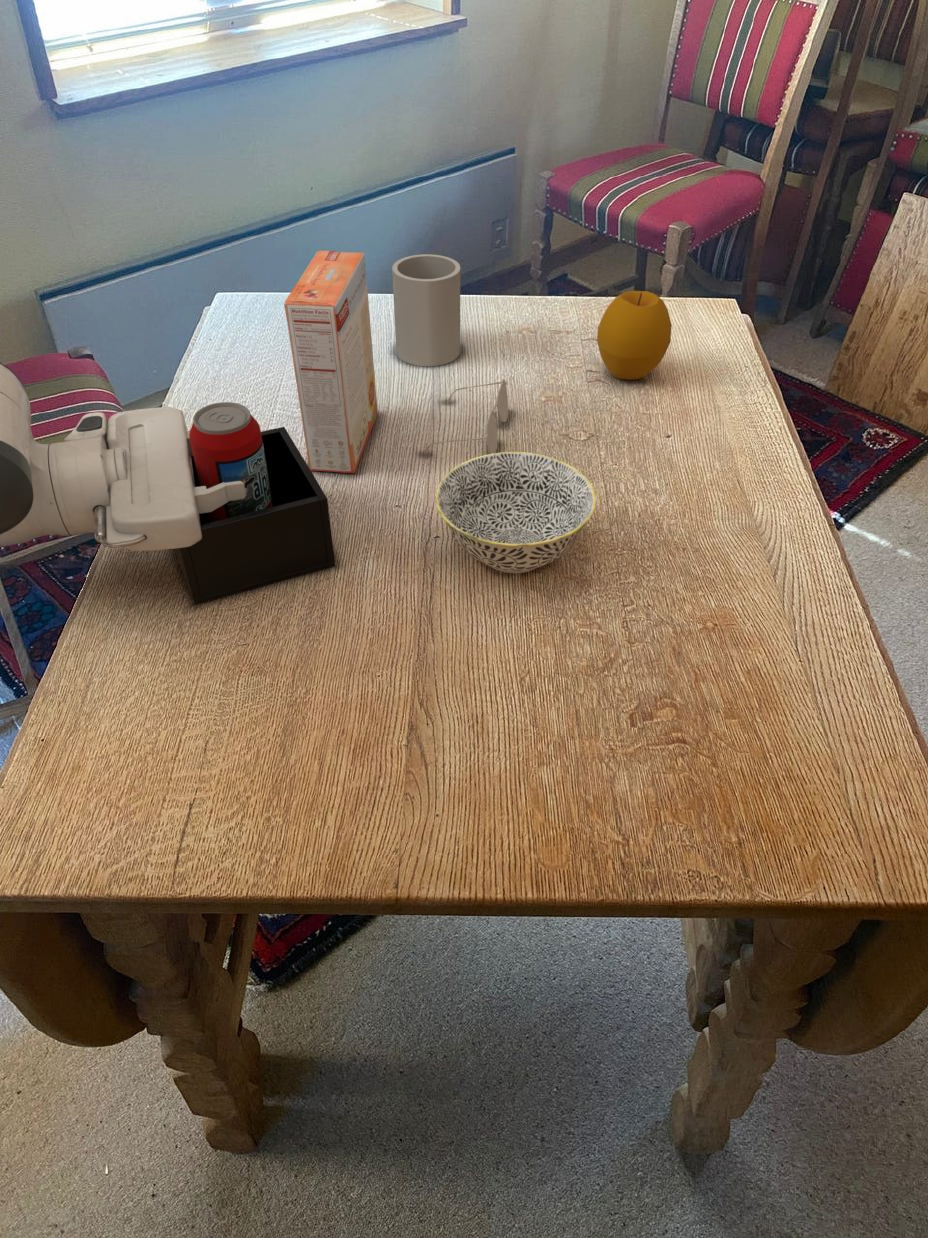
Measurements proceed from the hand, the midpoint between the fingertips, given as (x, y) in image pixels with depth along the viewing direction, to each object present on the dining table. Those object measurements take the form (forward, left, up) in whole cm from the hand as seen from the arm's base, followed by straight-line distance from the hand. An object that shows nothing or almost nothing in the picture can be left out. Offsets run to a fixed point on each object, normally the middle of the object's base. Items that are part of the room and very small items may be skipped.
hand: (240, 463), depth 90 cm
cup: (+34, +33, -10) cm, 49 cm away
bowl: (+24, -13, -10) cm, 29 cm away
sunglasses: (+30, +11, -10) cm, 34 cm away
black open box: (-1, 0, -10) cm, 10 cm away
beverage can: (-1, 0, -7) cm, 7 cm away
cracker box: (+15, +15, -10) cm, 24 cm away
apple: (+56, +15, -10) cm, 59 cm away
